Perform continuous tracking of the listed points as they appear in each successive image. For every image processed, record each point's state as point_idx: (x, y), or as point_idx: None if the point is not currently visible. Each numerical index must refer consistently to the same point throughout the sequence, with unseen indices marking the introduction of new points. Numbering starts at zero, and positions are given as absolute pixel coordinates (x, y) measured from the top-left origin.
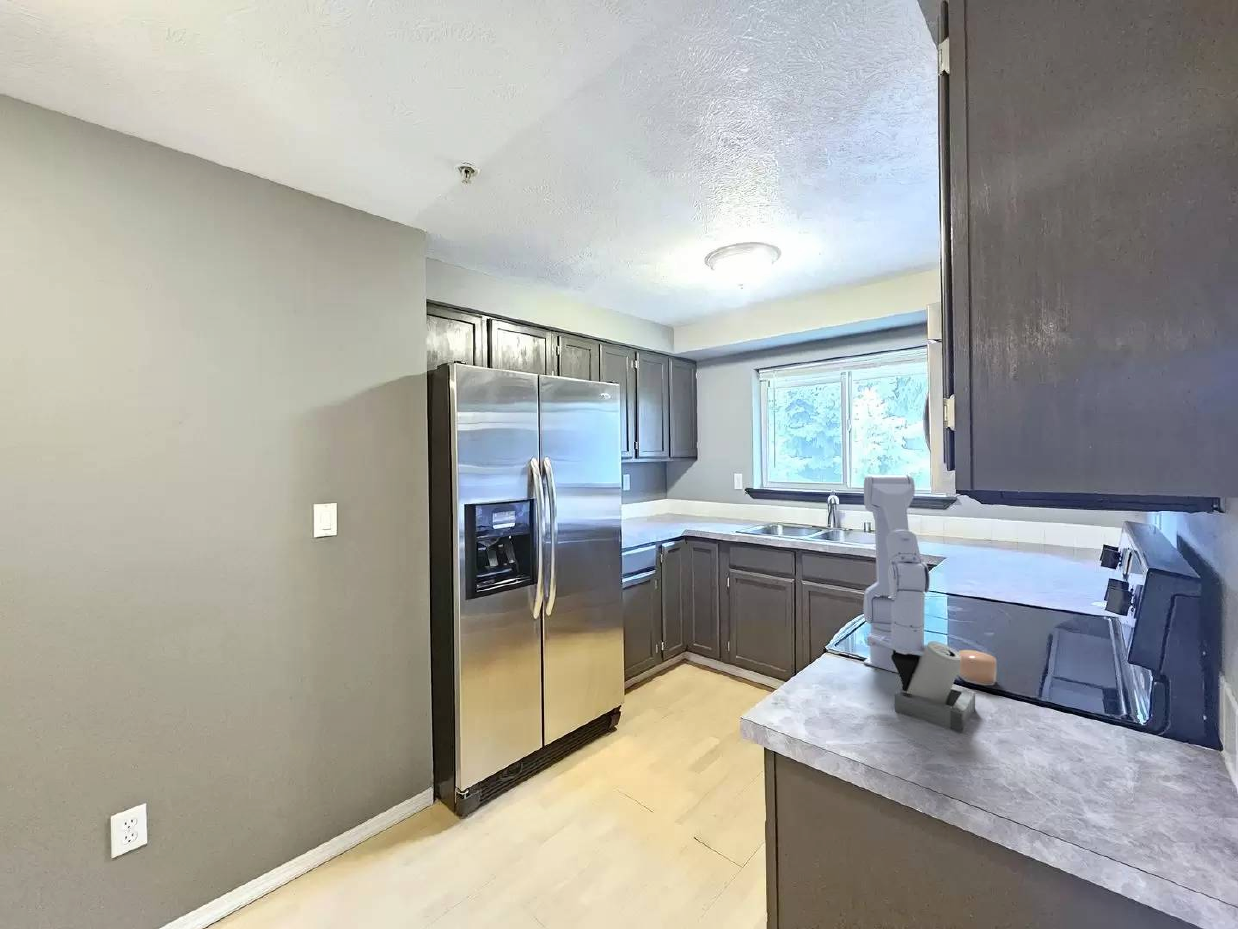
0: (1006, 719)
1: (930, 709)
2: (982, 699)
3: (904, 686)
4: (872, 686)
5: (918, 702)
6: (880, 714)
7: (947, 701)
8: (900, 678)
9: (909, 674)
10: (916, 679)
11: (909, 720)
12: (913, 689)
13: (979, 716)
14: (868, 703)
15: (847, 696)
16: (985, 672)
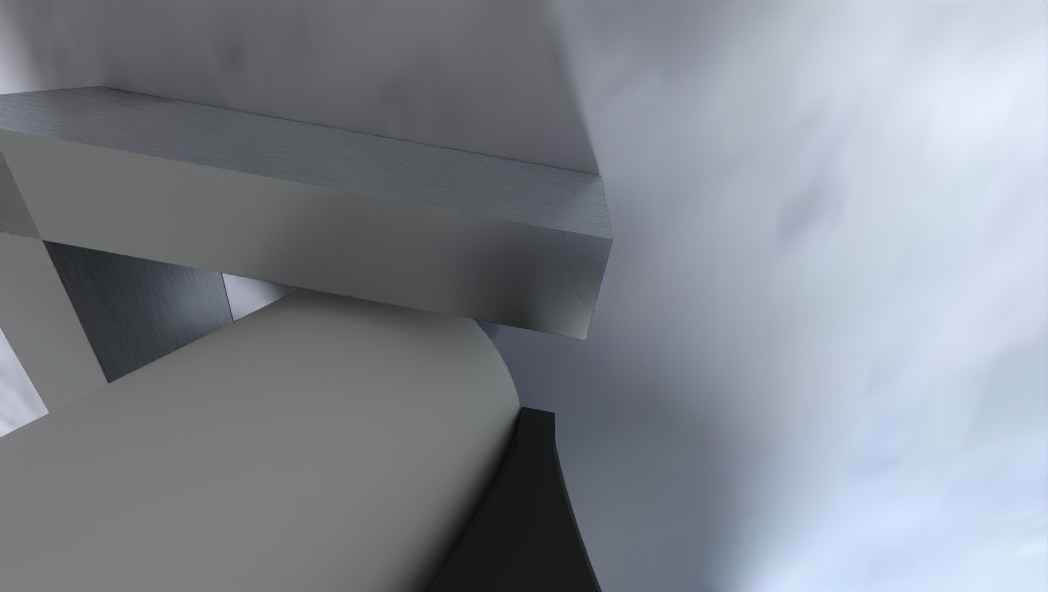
0: None
1: (247, 153)
2: None
3: (534, 439)
4: (757, 467)
5: (346, 181)
6: (732, 23)
7: None
8: (571, 510)
9: (447, 574)
10: (346, 499)
11: (469, 68)
12: (429, 386)
13: None
14: (828, 203)
15: (1023, 240)
16: None
